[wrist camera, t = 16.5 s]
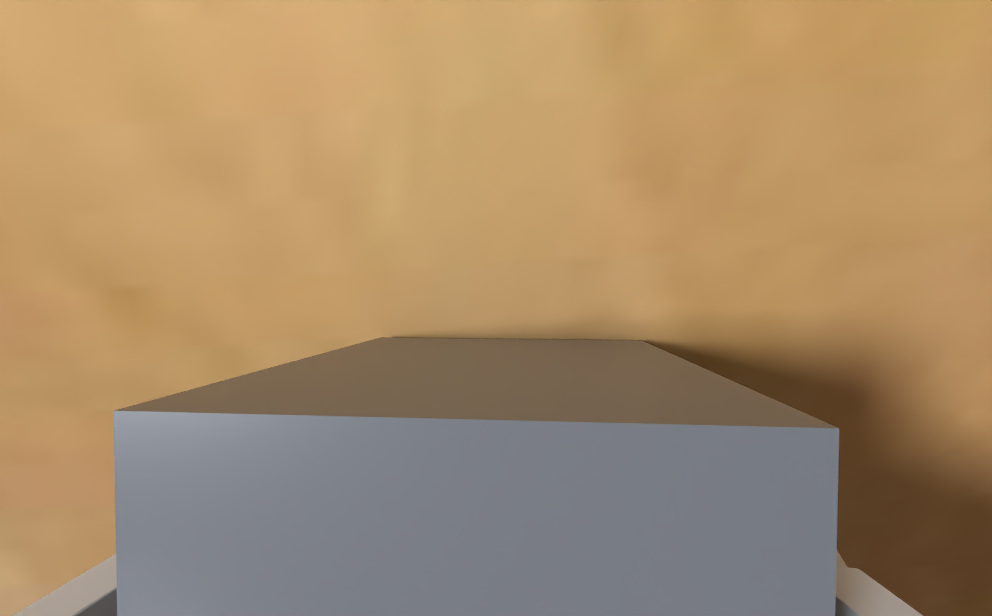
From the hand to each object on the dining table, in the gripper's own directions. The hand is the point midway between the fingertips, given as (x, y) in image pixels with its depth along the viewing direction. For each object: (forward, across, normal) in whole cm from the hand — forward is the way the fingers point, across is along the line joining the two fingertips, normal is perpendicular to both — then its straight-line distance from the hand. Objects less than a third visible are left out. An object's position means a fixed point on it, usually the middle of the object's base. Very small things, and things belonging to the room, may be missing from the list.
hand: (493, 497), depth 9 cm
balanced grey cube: (+4, 0, +3) cm, 5 cm away
